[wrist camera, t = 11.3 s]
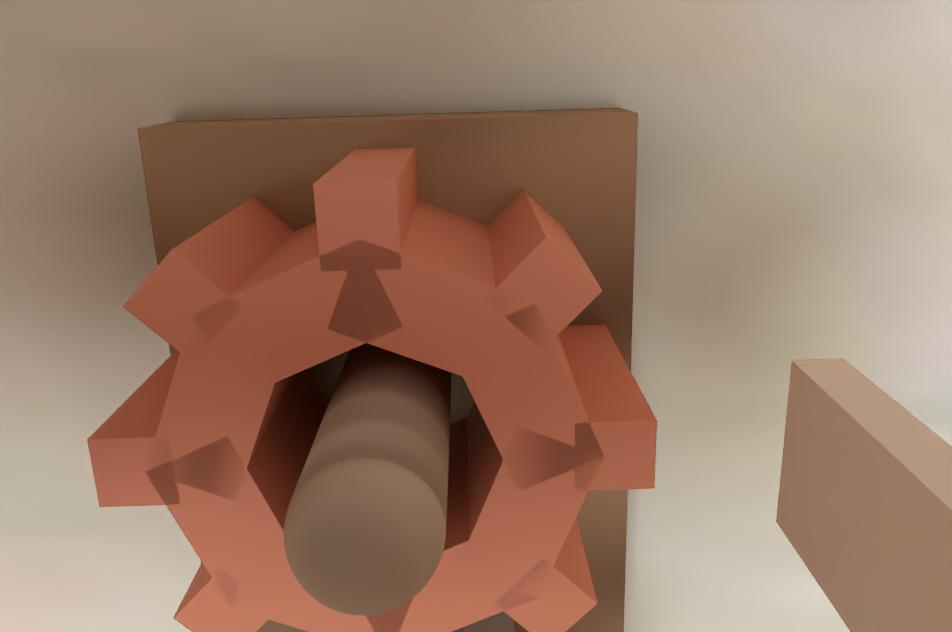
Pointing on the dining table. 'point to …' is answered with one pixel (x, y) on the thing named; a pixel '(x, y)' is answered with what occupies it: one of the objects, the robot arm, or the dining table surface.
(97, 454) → the red gear
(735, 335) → the dining table surface
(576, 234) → the gear board
